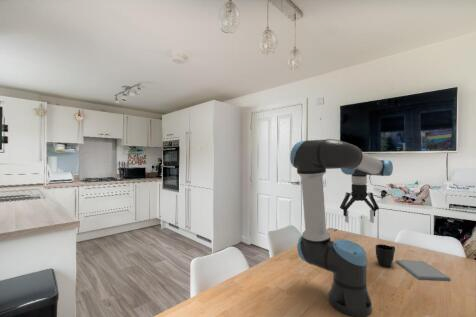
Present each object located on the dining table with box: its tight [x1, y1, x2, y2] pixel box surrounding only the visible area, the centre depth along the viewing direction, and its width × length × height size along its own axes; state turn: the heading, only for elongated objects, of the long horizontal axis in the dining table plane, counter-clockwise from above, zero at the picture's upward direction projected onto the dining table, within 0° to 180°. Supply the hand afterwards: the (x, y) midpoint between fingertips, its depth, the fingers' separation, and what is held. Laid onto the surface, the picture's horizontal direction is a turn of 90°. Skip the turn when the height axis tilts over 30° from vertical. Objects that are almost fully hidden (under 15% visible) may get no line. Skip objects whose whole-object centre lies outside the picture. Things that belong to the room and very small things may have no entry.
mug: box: [375, 243, 396, 268], centre depth 124 cm, size 8×12×10 cm
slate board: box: [395, 259, 451, 282], centre depth 117 cm, size 18×14×1 cm
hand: (359, 222), depth 129 cm, fingers open, 13 cm apart
